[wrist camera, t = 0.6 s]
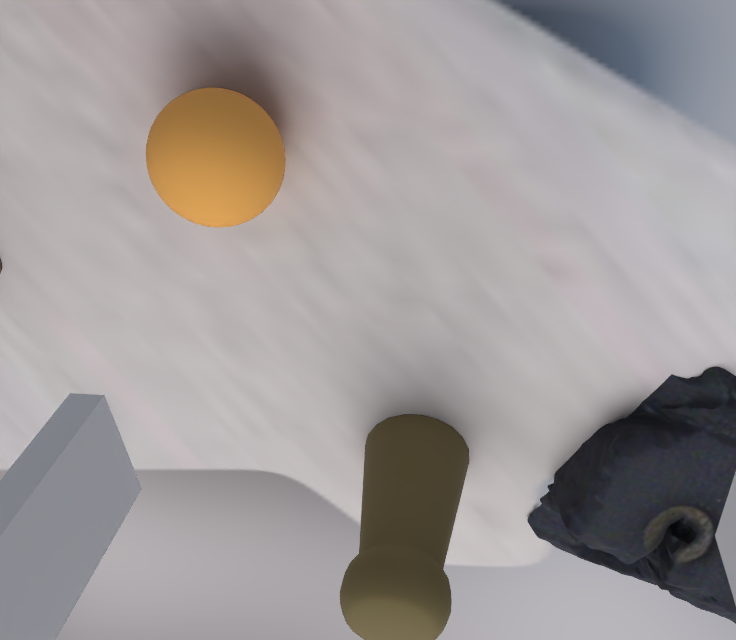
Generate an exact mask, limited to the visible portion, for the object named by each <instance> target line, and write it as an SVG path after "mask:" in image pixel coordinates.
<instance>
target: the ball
mask: <svg viewBox="0 0 736 640" xmlns="http://www.w3.org/2000/svg"><path fill="white" fill-rule="evenodd" d="M146 161H147V168H148V173H149V176H150V179H151V181H152V183H153V186H154V188H155V189H156V191H157V193H158V194H159V196H160V197H161V198H162V200H163V201H164V202H165V203H166V204H167V205H168V206H169V207H170V208H171V209H172V210H173V211H174V212H176V213H177V214H178V215H180V216H181V217H183V218H185V219H187V220H189V221H191V222H194V223H196V224H200V225H203V226H208V227H230V226H235V225H238V224H241V223H244V222H247V221H249V220H251V219H253V218H254V217H256V216H257V215H259V214H260V213H261V212H263V211H264V210H265V209H266V208H267V207H268V206H269V204H270V203H271V202H272V201H273V199H274V198H275V196H276V195H277V193H278V191H279V189H280V186H281V184H282V181H283V177H284V171H285V150H284V145H283V141H282V138H281V135H280V132H279V130H278V128H277V126H276V125H275V123H274V122H273V120H272V118H271V117H270V116H269V115H268V114H267V112H266V111H265V110H264V109H263V108H262V107H261V106H260V105H258V104H257V103H256V102H254V101H253V100H252V99H250V98H248V97H247V96H245V95H243V94H241V93H238V92H236V91H232V90H229V89H223V88H211V87H209V88H201V89H196V90H192V91H189V92H187V93H184V94H182V95H180V96H178V97H177V98H175V99H174V100H172V101H171V102H170V103H169V104H168V105H167V106H166V107H165V108H164V109H163V110H162V111H161V112H160V113H159V115H158V116H157V118H156V119H155V121H154V123H153V125H152V127H151V129H150V132H149V135H148V140H147V145H146Z"/></svg>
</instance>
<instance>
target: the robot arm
mask: <svg viewBox="0 0 736 640" xmlns="http://www.w3.org/2000/svg"><path fill="white" fill-rule="evenodd" d="M140 491H141V486H140V483H139V481H138V478H137V476H136V473H135V471H134V468H133V466H132V463H131V461H130V458H129V456H128V453H127V451H126V448H125V446H124V443H123V441H122V438H121V436H120V433H119V431H118V428H117V426H116V423H115V421H114V418H113V416H112V413H111V411H110V408H109V406H108V403H107V401H106V398H105V396H104V395H90V394H72V393H70V394H69V395H68V397H67V398H66V399H65V400H64V402H63V403H62V404H61V405H60V407H59V408H58V409H57V410H56V412H55V413H54V414H53V415H52V417H51V418H50V419H49V420H48V422H47V423H46V424H45V425H44V427H43V428H42V429H41V430H40V432H39V433H38V434H37V435H36V437H35V438H34V439H33V440H32V442H31V443H30V444H29V445H28V447H27V448H26V449H25V450H24V452H23V453H22V454H21V455H20V457H19V458H18V459H17V460H16V461H15V463H14V464H13V465H12V466H11V468H10V469H9V470H8V471H7V473H6V474H5V475H4V476H3V478H2V479H1V480H0V640H55V639H56V638H57V636H58V634H59V632H60V631H61V629H62V627H63V625H64V624H65V622H66V620H67V618H68V617H69V615H70V613H71V611H72V610H73V608H74V606H75V604H76V603H77V601H78V599H79V597H80V596H81V594H82V592H83V590H84V589H85V587H86V585H87V583H88V582H89V580H90V578H91V576H92V575H93V573H94V571H95V569H96V568H97V566H98V564H99V562H100V561H101V559H102V557H103V555H104V554H105V552H106V550H107V548H108V547H109V545H110V543H111V541H112V540H113V538H114V536H115V534H116V533H117V531H118V529H119V527H120V526H121V524H122V522H123V521H124V519H125V517H126V515H127V513H128V512H129V510H130V508H131V506H132V505H133V503H134V501H135V500H136V498H137V496H138V494H139V492H140ZM715 537H716V541H717V544H718V547H719V551H720V554H721V558H722V561H723V564H724V568H725V571H726V574H727V578H728V581H729V584H730V588H731V591H732V594H733V598H734V601H735V605H736V472H735V475H734V478H733V481H732V485H731V488H730V491H729V494H728V497H727V500H726V503H725V506H724V509H723V512H722V516H721V519H720V522H719V525H718V528H717V531H716V534H715Z"/></svg>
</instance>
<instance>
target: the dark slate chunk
mask: <svg viewBox="0 0 736 640" xmlns="http://www.w3.org/2000/svg"><path fill="white" fill-rule="evenodd" d="M735 472H736V376H734V375H733V374H731V373H730V372H728V371H727V370H725V369H723V368H720V367H715V368H711V369H708V370H706V371H704V373H703V375H702V376H701V377H699V378H697V379H696V378H694V377H692V378H689V379H686V378H681V377H677V376H674V375H671V376H670V377H669V378H668V379H667V380H666V381H665V382H664V383H663V384H662V385H661V386H660V387H658V388H657V389H656V390H655V391H654V392H653V393H652V394H651V395H650V396H649V397H647V398H646V399H645V400H644V401H643V402H642V403H641V404H640V406H639V407H638V408H637V409H636V410H635V411H634V412H633V413H632V414H630V415H629V416H628V417H627V418H623V419H620V420H618V421H616V422H614V423H611V424H607V425H605V426H604V427H602V428H600V429H599V430H598V431H597V432H596V433H595V434H594V435H593V436H592V437H591V438H590V439H588V440H587V441H586V442H584V443H583V444H582V446H581V447H580V448H579V450H578V451H577V452H576V453H575V454H574V455H573V456H572V457H571V458H570V459H569V460H568V461H567V462H566V463H564V464H563V466H562V467H561V468H560V469H559V470H558V471H557V472H556V474H555V477H554V483H553V484H551V485H548V489H549V492H548V493H547V494H546V495H545V496H543V497H542V498H541V499H540V501H541V503H542V504H541V506H539V507H538V508H537V509H535V510H534V511H533V516H530V517H528V523H529V524H530V526H531V528H532V529H533V531H534V532H535V534H536V535H537V536H538V538H540V539H543V540H546V541H548V542H550V543H551V544H552V545H554V546H555V547H557V548H559V549H561V550H563V551H566V552H568V553H571V554H573V555H575V556H577V557H579V558H581V559H584V560H587V561H589V562H592V563H595V564H598V565H602V566H605V567H607V568H609V569H612V570H614V571H617V572H619V573H621V574H624V575H628V576H633V577H635V578H637V579H640V580H643V581H646V582H648V583H651V584H655V585H658V586H659V588H661V589H664V590H668V591H669V592H670V594H671V595H673V596H674V597H676V598H679V599H682V600H684V601H687V602H689V603H690V604H692V605H694V606H695V607H698V608H700V609H703V610H706V611H710V612H712V613H715V614H718V615H719V616H722V617H725V618H727V619H730V620H731V621H733V622H734V623H736V605H735V601H734V598H733V594H732V591H731V588H730V584H729V581H728V578H727V574H726V571H725V568H724V564H723V561H722V558H721V554H720V551H719V547H718V544H717V541H716V537H715V534H716V531H717V528H718V525H719V522H720V519H721V516H722V512H723V509H724V506H725V503H726V500H727V497H728V494H729V491H730V488H731V485H732V481H733V478H734V475H735Z"/></svg>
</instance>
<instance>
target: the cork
mask: <svg viewBox="0 0 736 640" xmlns="http://www.w3.org/2000/svg"><path fill="white" fill-rule="evenodd" d="M468 464H469V449H468V447H467V445H466V443H465V441H464V439H463V437H462V436H461V435H460V434H459V433H458V432H457V431H456V430H455V429H454V428H452V427H451V426H449V425H447V424H445V423H444V422H442V421H440V420H438V419H434V418H431V417H427V416H423V415H400V416H396V417H391V418H388V419H386V420H384V421H383V422H381V423H379V424H377V425H376V426H375V427H374V428H373V430H372V431H371V432H370V433H369V434H368V438H367V441H366V445H365V461H364V478H363V496H362V513H361V531H360V549H359V554H358V555H357V556H356V557H355V558H354V559H353V560H352V561H351V563H350V564H349V566H348V568H347V570H346V572H345V575H344V578H343V582H342V586H341V590H340V604H341V608H342V612H343V615H344V618H345V620H346V622H347V624H348V625H349V627H350V628H351V629H352V631H353V632H355V633H356V634H357V635H359V636H360V637H361V638H363V639H364V640H435V639H436V638H437V637H438V636H439V635H440V634H441V633H442V631H443V630H444V628H445V626H446V624H447V621H448V618H449V616H450V613H451V590H450V585H449V579H448V577H447V575H446V574H445V572H444V570H443V567H444V563H445V559H446V555H447V551H448V546H449V542H450V538H451V534H452V530H453V526H454V522H455V518H456V513H457V509H458V505H459V501H460V497H461V493H462V489H463V485H464V480H465V476H466V472H467V468H468Z"/></svg>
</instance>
